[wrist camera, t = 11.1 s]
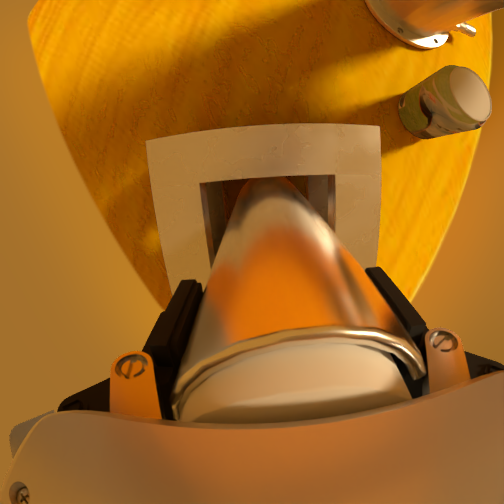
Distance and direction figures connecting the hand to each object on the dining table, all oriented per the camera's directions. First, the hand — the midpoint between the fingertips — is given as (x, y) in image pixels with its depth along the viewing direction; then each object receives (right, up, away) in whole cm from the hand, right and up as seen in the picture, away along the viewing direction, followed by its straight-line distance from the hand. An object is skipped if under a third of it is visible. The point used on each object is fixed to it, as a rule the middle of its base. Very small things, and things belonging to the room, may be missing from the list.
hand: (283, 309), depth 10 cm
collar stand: (0, +7, +18) cm, 20 cm away
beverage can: (+17, +19, +14) cm, 29 cm away
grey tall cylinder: (+1, +7, +17) cm, 19 cm away
